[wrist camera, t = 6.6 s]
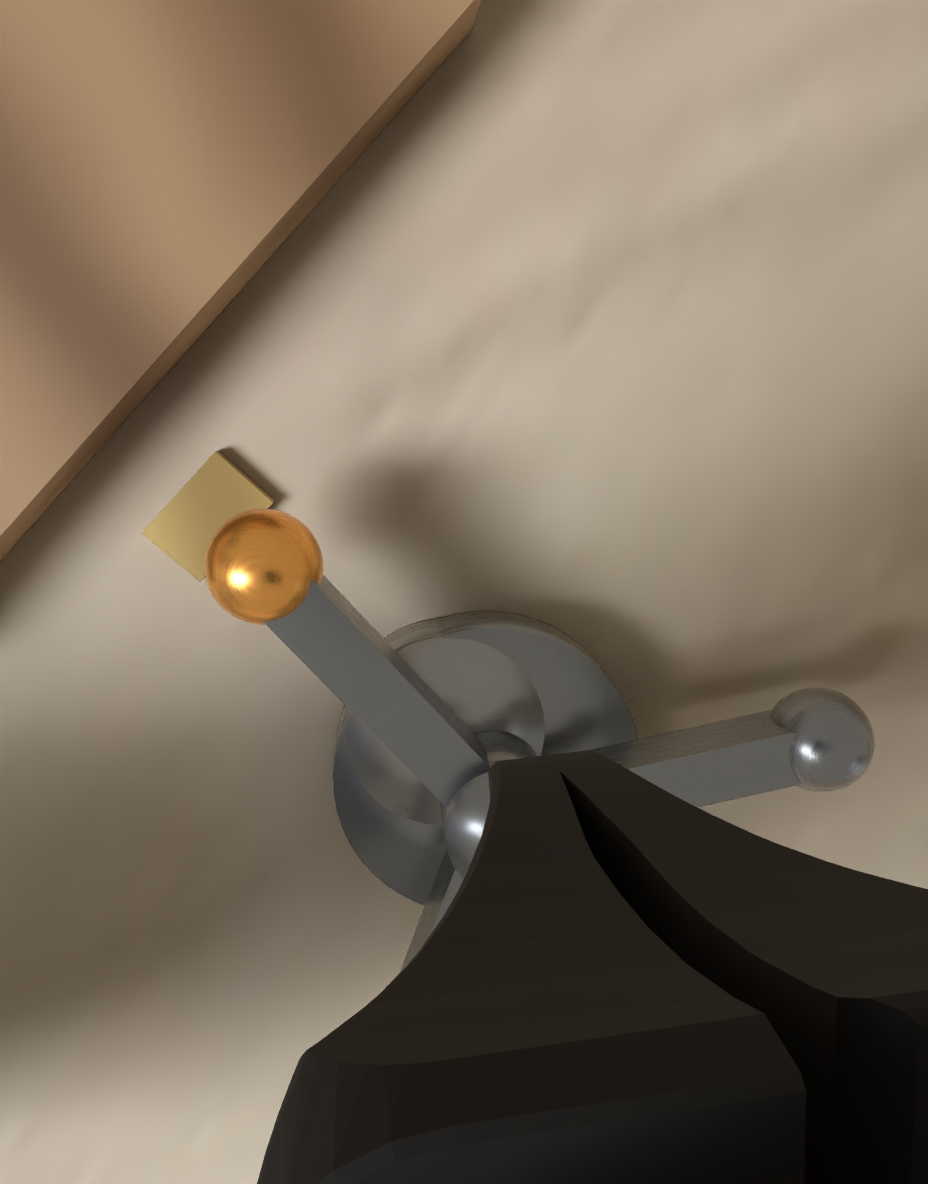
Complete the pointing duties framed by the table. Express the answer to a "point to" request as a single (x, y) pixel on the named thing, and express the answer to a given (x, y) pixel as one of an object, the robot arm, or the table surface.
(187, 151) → the stand
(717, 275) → the table surface
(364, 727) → the cam capstan
